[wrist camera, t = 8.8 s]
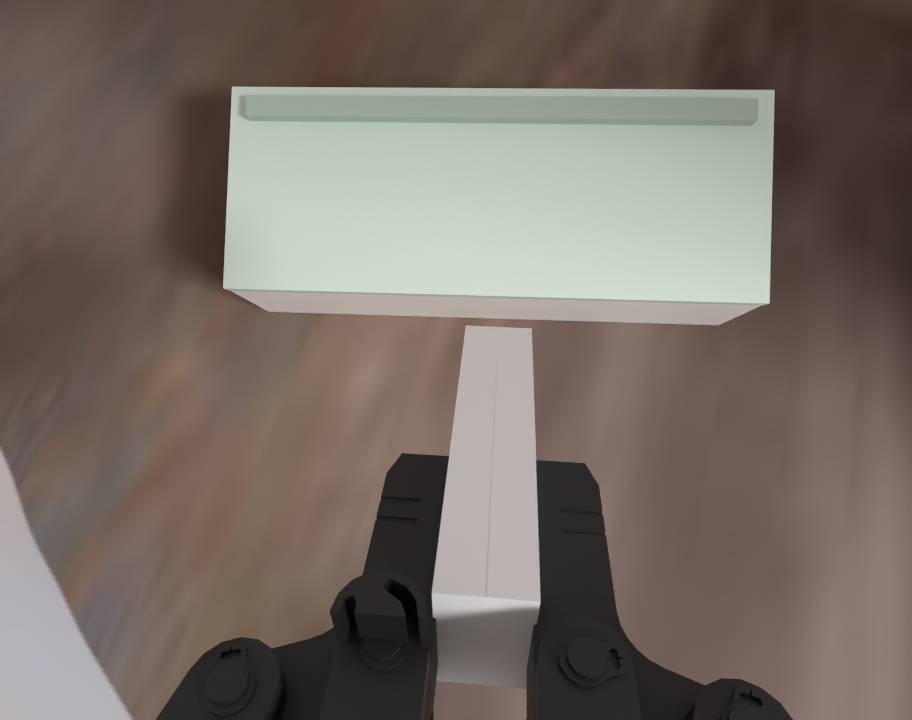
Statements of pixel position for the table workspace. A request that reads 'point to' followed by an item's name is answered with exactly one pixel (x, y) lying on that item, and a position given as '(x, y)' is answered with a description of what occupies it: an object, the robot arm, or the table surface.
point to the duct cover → (502, 193)
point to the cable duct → (496, 308)
